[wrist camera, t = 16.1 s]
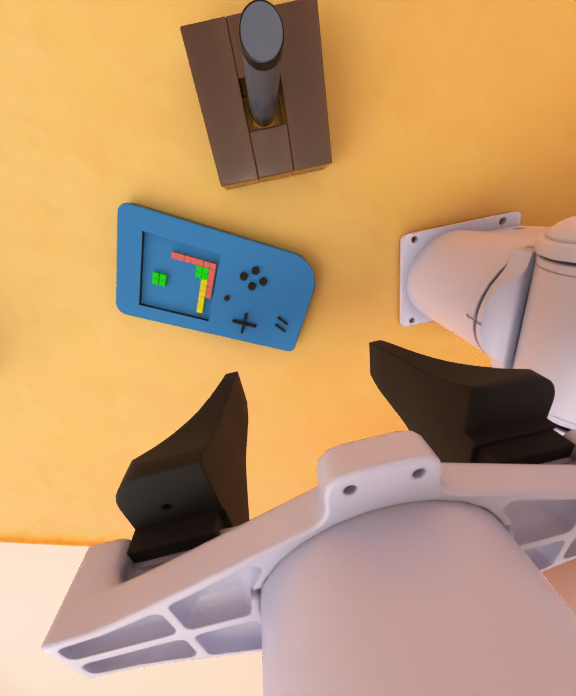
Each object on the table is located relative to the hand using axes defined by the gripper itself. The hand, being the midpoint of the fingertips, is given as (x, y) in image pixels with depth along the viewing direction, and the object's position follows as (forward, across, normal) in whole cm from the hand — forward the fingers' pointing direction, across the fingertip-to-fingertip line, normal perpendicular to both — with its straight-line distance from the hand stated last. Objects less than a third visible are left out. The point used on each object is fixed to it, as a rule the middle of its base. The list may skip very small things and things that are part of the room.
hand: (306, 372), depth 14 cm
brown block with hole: (+10, -1, -13) cm, 17 cm away
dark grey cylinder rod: (+10, -1, -13) cm, 17 cm away
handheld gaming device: (+11, +5, -3) cm, 12 cm away
